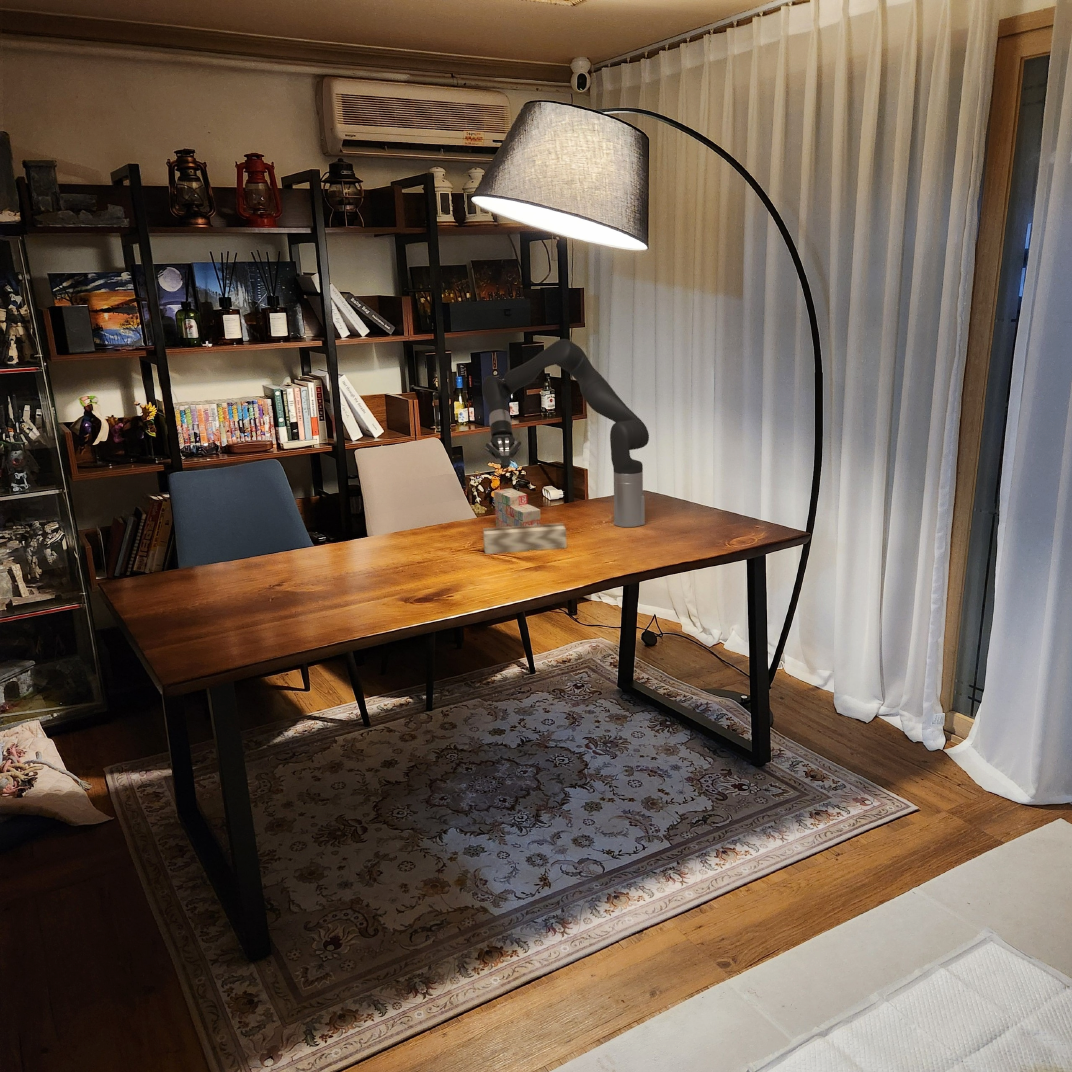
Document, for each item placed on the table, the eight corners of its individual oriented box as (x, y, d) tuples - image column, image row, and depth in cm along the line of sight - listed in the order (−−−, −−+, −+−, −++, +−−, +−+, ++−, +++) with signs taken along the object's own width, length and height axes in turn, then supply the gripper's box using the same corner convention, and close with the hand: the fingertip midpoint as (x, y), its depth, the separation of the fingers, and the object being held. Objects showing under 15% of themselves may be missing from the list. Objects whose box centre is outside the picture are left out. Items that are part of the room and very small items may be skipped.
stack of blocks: (541, 538, 284) (540, 499, 281) (523, 541, 281) (521, 502, 278) (512, 524, 302) (511, 487, 299) (495, 526, 300) (493, 489, 297)
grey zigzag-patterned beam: (563, 543, 277) (563, 522, 275) (566, 548, 272) (565, 526, 270) (484, 549, 274) (482, 528, 272) (485, 554, 269) (484, 532, 268)
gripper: (518, 430, 326) (524, 471, 317) (481, 433, 324) (486, 474, 316) (520, 418, 319) (526, 459, 311) (482, 420, 318) (487, 462, 309)
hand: (506, 466), depth 313 cm, fingers closed
